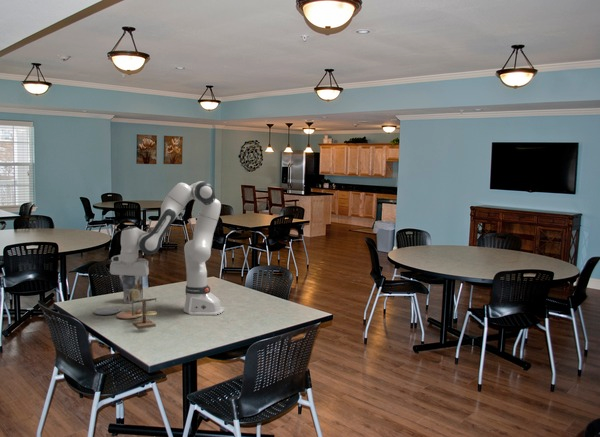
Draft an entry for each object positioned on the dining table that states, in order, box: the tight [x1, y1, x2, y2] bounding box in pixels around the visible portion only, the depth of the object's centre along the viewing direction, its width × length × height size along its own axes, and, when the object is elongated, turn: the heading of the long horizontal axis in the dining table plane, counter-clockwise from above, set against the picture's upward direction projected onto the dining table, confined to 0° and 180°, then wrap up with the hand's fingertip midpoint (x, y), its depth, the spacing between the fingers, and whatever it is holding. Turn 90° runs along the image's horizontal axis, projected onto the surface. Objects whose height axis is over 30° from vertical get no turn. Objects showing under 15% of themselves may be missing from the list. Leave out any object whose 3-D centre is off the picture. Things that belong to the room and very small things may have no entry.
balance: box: [131, 297, 158, 330], centre depth 258 cm, size 23×8×15 cm, turn 37°
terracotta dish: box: [116, 310, 141, 320], centre depth 274 cm, size 13×13×1 cm
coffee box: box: [122, 275, 144, 305], centre depth 303 cm, size 9×6×16 cm
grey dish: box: [93, 306, 121, 316], centre depth 280 cm, size 13×13×1 cm
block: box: [122, 275, 136, 290], centre depth 272 cm, size 5×5×6 cm
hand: (129, 283), depth 272 cm, fingers closed on block, 5 cm apart
